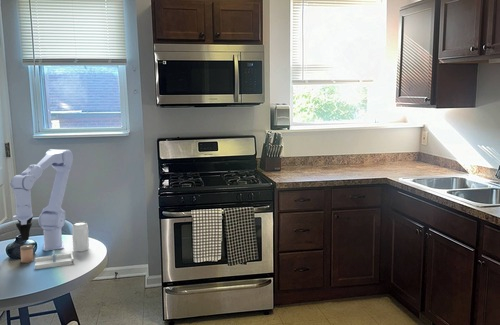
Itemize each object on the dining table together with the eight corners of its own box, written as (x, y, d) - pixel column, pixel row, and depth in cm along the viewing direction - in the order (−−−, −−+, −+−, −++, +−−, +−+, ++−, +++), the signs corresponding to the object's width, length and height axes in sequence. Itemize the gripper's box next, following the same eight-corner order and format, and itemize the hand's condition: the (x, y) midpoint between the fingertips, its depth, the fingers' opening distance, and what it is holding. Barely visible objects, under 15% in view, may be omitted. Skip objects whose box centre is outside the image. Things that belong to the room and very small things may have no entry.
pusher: (52, 258, 179) (52, 250, 178) (55, 258, 179) (55, 250, 179) (53, 264, 173) (52, 255, 173) (55, 263, 174) (55, 255, 173)
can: (70, 250, 190) (68, 224, 189) (81, 246, 196) (80, 220, 194) (80, 253, 187) (79, 226, 186) (92, 248, 193) (91, 222, 191)
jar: (21, 259, 179) (20, 245, 179) (33, 258, 181) (32, 244, 180) (20, 263, 175) (19, 249, 175) (33, 261, 177) (32, 247, 176)
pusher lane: (35, 261, 177) (35, 256, 177) (72, 256, 183) (72, 251, 183) (35, 269, 169) (34, 264, 169) (73, 263, 175) (73, 258, 175)
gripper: (13, 201, 180) (15, 233, 182) (11, 209, 167) (13, 243, 169) (32, 200, 183) (34, 231, 185) (31, 208, 170) (33, 241, 172)
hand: (25, 237), depth 177 cm, fingers open, 7 cm apart
